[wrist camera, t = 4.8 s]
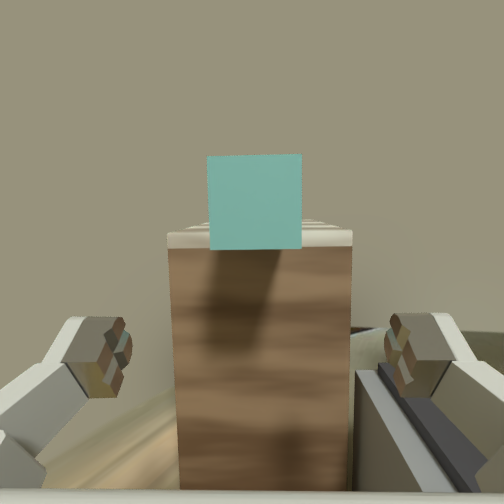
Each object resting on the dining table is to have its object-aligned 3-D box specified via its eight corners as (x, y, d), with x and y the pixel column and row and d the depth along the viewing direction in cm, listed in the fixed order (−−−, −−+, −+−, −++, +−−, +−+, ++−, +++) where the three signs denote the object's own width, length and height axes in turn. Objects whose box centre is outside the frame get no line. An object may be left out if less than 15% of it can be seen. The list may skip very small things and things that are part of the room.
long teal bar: (301, 248, 13) (301, 154, 12) (210, 250, 13) (206, 156, 12) (277, 221, 36) (277, 188, 36) (245, 221, 37) (244, 189, 36)
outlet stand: (344, 579, 25) (352, 230, 21) (184, 575, 25) (166, 233, 22) (310, 421, 43) (311, 219, 40) (218, 420, 44) (211, 221, 40)
